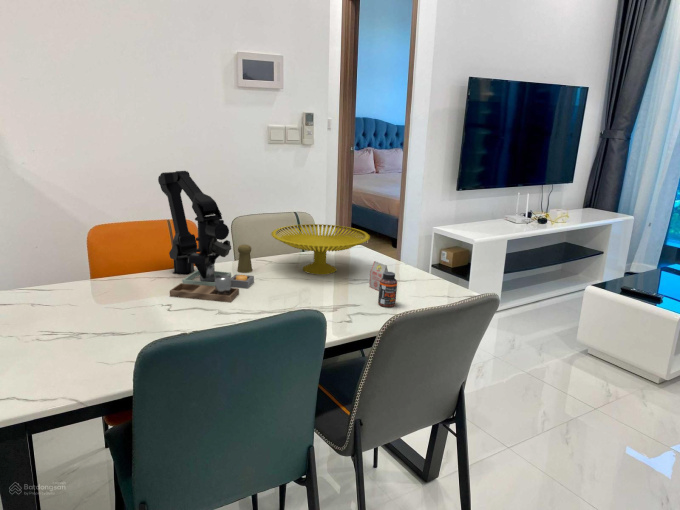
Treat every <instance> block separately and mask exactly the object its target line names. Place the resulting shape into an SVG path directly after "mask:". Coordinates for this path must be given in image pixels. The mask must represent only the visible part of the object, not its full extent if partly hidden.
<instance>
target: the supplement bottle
mask: <svg viewBox="0 0 680 510" xmlns="http://www.w3.org/2000/svg"><path fill="white" fill-rule="evenodd" d="M397 290H398V280H397V279H396V273H395V272H393V271H388V272H384V273H383V278H381V279H380V285H379V291H378V299H377V303H378V305H379V306H380V307H384V308H392V307H395V306H396V303H397V302H396V300H397Z"/></svg>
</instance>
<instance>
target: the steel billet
mask: <svg viewBox="0 0 680 510" xmlns="http://www.w3.org/2000/svg"><path fill="white" fill-rule="evenodd" d="M215 271H216V270H215V264H214V263H209V264H208V265H207V273H206V278H205V279H203V278H202V276H201V274H200V275H199V281H204V282H215Z"/></svg>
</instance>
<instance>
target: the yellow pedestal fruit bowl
mask: <svg viewBox="0 0 680 510" xmlns="http://www.w3.org/2000/svg"><path fill="white" fill-rule="evenodd" d="M318 228H319V229H318ZM322 228H323V229H322ZM334 228H335V229H334ZM314 229H315V230H314ZM333 230H334V231H333ZM325 232H326V233H325ZM270 235H271V237H272V238H274V239H275V240H277V241H278V242H280V243H283V244H285V245H287V246H289V247H292V248H294V249H298V250H303V251H309V252H310V251H311V252H313V262H312V263H308V264H307V265H304V266H303V267H302V270H304V271H303V272H305V273H307V272H308V273H307V274H311V273H313V274H312V275H329V274H330V273H331V274H334V273H336V272H337V268H336V267H335V266H333V265H331V264H329V263H328V262H327V252H337V251H338V252H340V251H345V250H349V249H351V248H354V247H356V246H359V245H361V244H363V243H365V242H368V241H369V240H370V239H371V235H370V234H368V232H366V231H364V230H361V229H357V228H355V227H354V228H353V227H349V226H343V225H336V224H324V223H323V224H321V223H320V224H319V223H317V224H315V223H313V224H311V223H310V224H306V223H305V224H294V225H285V226H282V227H279V228H278V227H277V228H276V229H274V230H272V231H271V233H270ZM335 271H336V272H335Z"/></svg>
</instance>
